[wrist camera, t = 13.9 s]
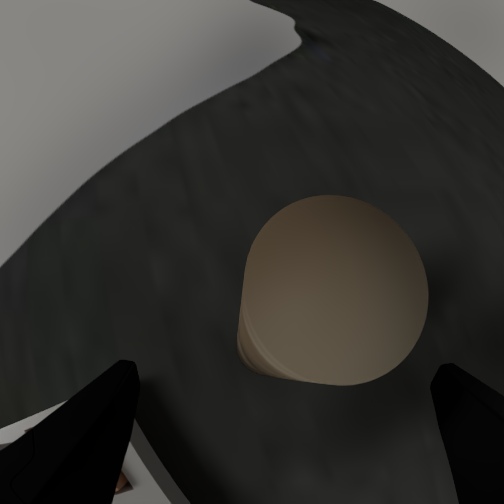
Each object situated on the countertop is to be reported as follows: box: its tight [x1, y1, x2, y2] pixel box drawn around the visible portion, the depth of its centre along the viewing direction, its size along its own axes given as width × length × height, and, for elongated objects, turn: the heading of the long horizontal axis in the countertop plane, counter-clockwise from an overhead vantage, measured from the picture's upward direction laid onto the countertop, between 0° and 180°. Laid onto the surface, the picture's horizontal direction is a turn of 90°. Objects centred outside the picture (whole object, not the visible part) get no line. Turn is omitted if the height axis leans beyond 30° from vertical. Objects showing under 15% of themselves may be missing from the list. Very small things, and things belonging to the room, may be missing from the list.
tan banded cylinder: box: [236, 195, 428, 386], centre depth 11 cm, size 4×4×13 cm
